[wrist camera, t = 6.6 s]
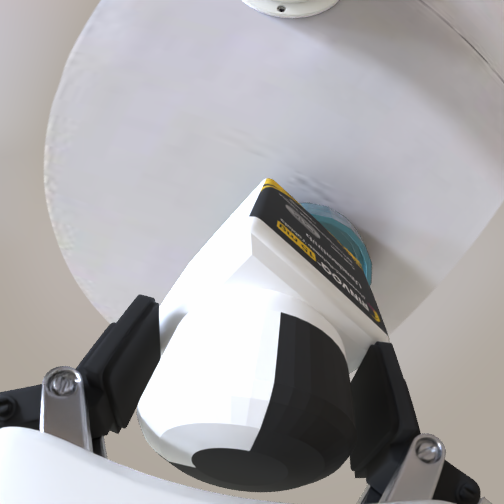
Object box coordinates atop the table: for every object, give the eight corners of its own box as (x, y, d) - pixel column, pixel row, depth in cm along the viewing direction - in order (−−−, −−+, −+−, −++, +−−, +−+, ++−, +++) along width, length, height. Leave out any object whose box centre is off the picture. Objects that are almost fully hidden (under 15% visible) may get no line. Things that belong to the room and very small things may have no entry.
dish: (252, 190, 32) (246, 201, 28) (377, 216, 32) (388, 230, 28) (236, 299, 39) (230, 320, 35) (343, 318, 38) (348, 341, 34)
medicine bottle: (361, 262, 16) (428, 458, 6) (275, 334, 19) (252, 515, 8) (268, 174, 15) (203, 317, 4) (187, 264, 18) (80, 432, 7)
